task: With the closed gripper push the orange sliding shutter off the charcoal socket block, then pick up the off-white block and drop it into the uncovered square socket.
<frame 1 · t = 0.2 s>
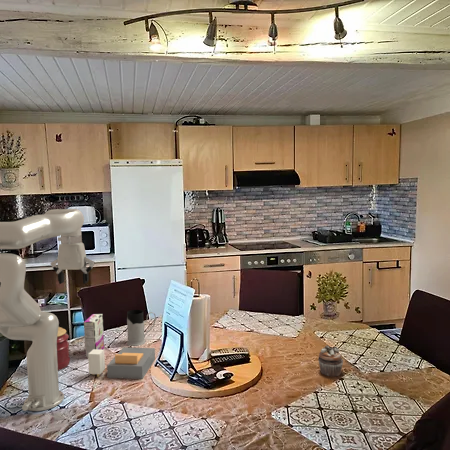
hand: (73, 283, 159), 36 cm above the table, tool pointing down, fingers open, 9 cm apart
canister: (53, 366, 168), on the table
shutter: (129, 355, 161), point 7 cm above the table, slide at 0.0 cm
cupcake: (330, 372, 159), on the table
socket: (132, 368, 164), on the table
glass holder: (141, 341, 194), on the table
block: (97, 375, 159), on the table
candy bar box: (95, 353, 180), on the table
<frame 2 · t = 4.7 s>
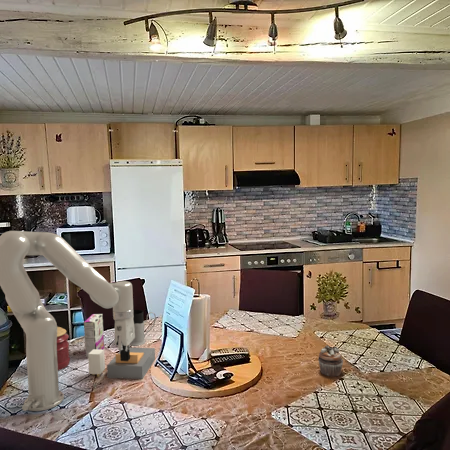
hand: (125, 360, 156), 7 cm above the table, tool pointing down, fingers closed
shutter: (130, 354, 161), point 7 cm above the table, slide at 0.6 cm, touching gripper
everything else where it was.
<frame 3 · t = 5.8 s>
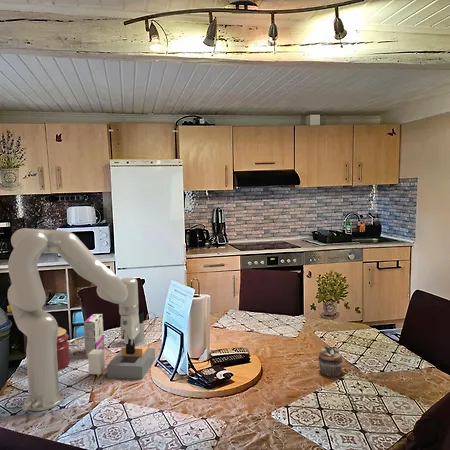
hand: (130, 353, 162), 7 cm above the table, tool pointing down, fingers closed
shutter: (135, 348, 168), point 7 cm above the table, slide at 6.9 cm, touching gripper
everything else where it was.
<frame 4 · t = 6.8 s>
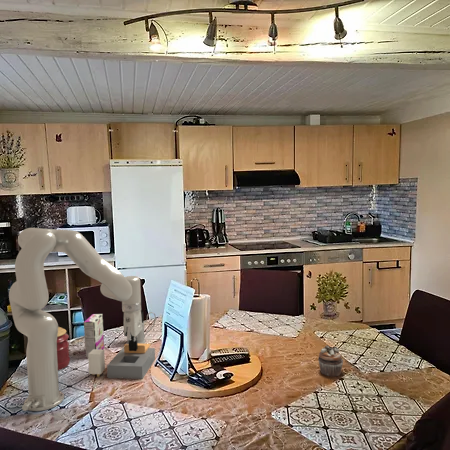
hand: (133, 350, 165), 7 cm above the table, tool pointing down, fingers closed
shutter: (137, 345, 171), point 7 cm above the table, slide at 10.4 cm, touching gripper
everything else where it was.
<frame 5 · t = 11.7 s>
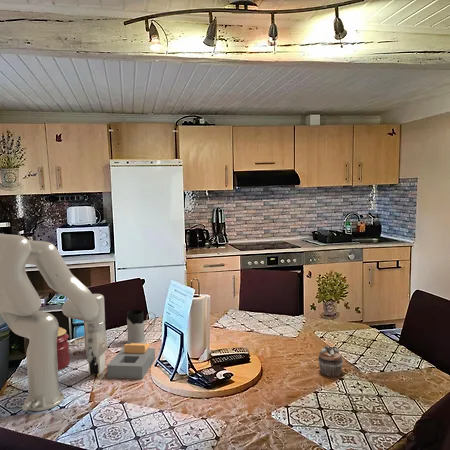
hand: (97, 370, 158), 2 cm above the table, tool pointing down, fingers closed on block, 4 cm apart
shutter: (137, 345, 171), point 7 cm above the table, slide at 10.4 cm
block: (97, 375, 159), on the table, touching gripper
everything else where it was.
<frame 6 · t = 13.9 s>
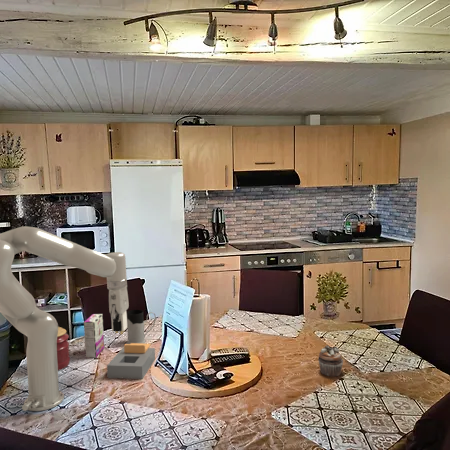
hand: (119, 328, 160), 18 cm above the table, tool pointing down, fingers closed on block, 4 cm apart
block: (120, 332, 160), point 16 cm above the table, touching gripper
everything else where it was.
when the fingers open (8 cm above the table, at t = 16.2 s): block drops 5 cm, point 1 cm above the table.
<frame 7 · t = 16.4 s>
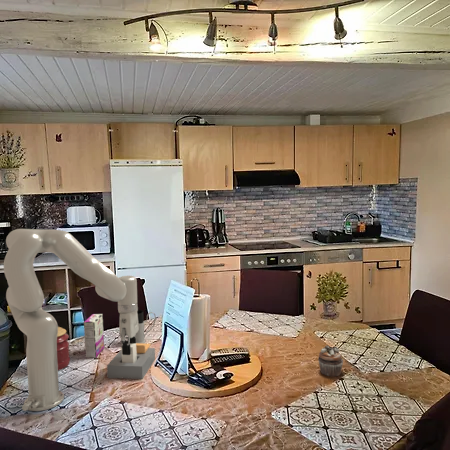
hand: (129, 350, 161), 9 cm above the table, tool pointing down, fingers open, 6 cm apart
block: (129, 368, 162), point 1 cm above the table, touching gripper
everything else where it was.
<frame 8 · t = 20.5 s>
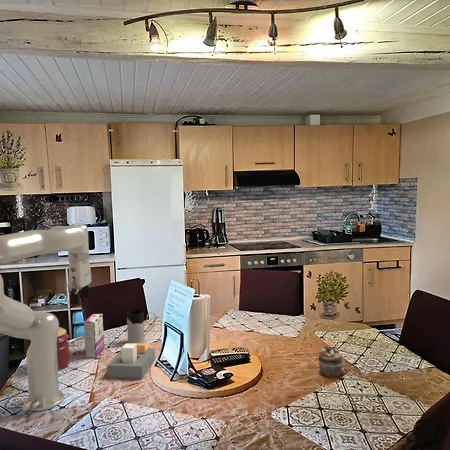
hand: (80, 300, 156), 30 cm above the table, tool pointing down, fingers open, 9 cm apart
block: (129, 368, 162), point 1 cm above the table, touching socket
everything else where it was.
at the end: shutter slide at 10.4 cm; block 0.3 cm from the target spot on the socket, point 1.0 cm above the socket's base; block tilted 0° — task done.
